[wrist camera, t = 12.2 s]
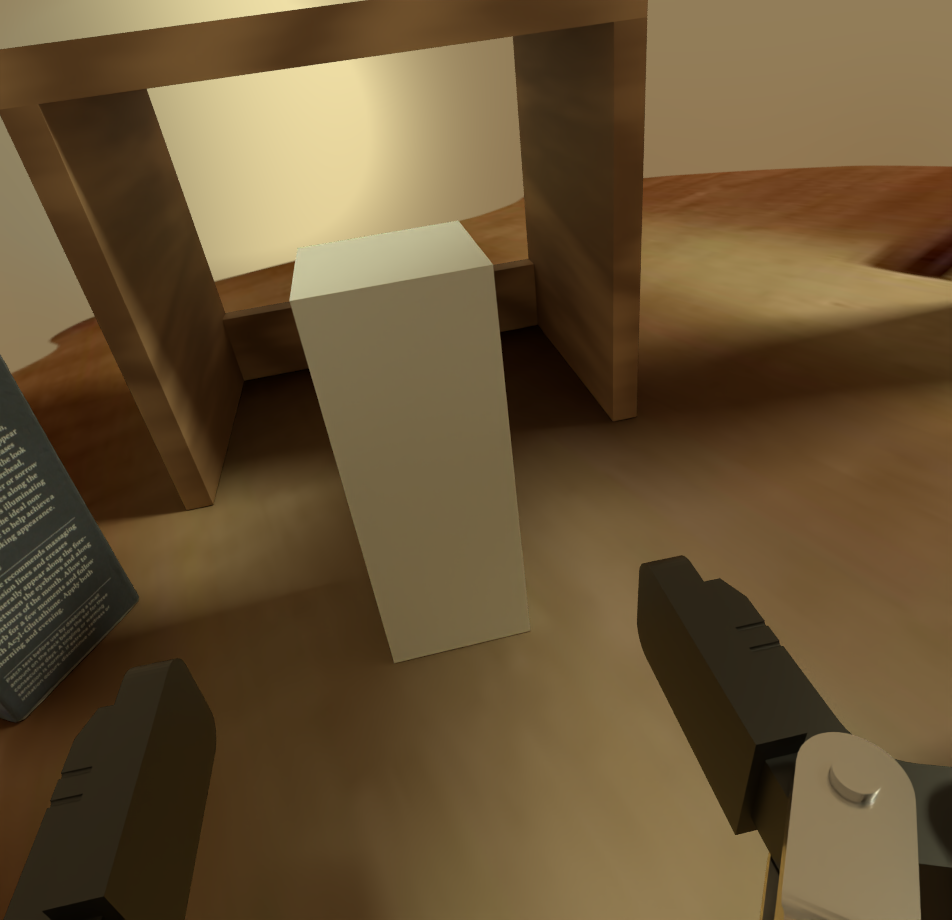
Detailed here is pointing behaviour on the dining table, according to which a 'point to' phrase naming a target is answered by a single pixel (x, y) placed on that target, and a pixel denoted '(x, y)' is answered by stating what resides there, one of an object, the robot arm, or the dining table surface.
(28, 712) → the box
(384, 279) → the block
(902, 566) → the dining table surface
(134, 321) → the shelf
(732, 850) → the dining table surface
